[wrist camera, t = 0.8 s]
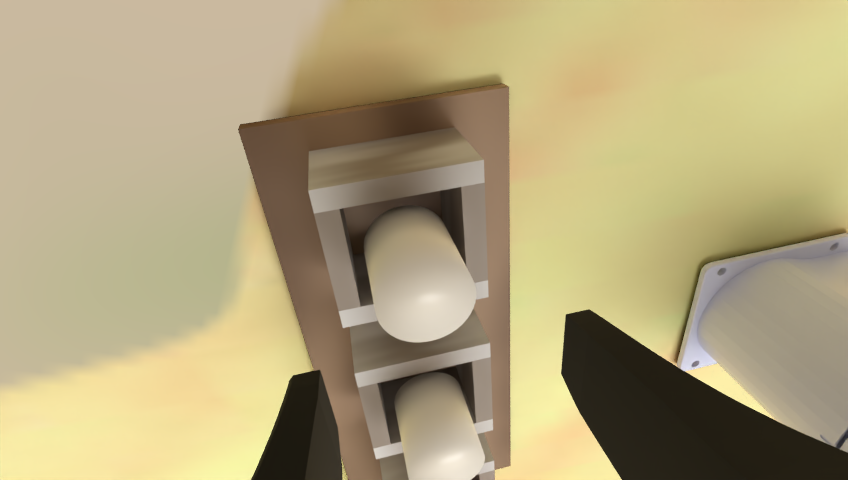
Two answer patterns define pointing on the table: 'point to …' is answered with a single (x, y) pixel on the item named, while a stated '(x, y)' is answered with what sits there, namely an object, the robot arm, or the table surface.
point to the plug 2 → (437, 429)
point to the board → (346, 265)
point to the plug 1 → (417, 275)
